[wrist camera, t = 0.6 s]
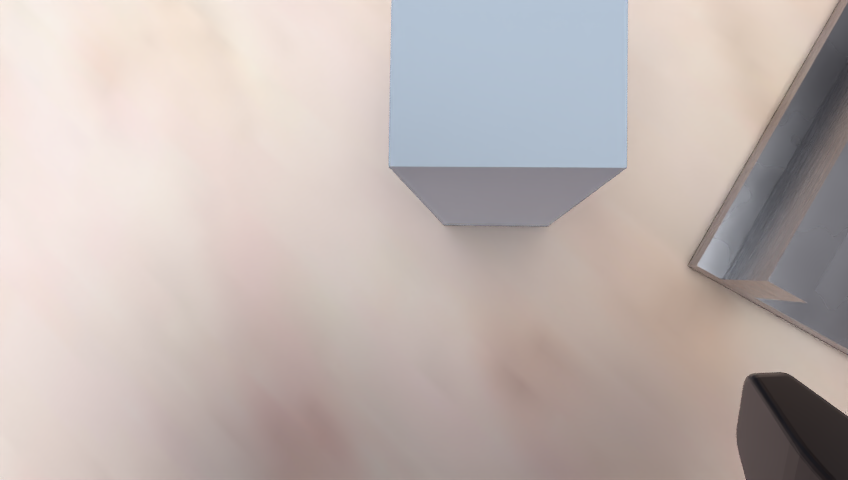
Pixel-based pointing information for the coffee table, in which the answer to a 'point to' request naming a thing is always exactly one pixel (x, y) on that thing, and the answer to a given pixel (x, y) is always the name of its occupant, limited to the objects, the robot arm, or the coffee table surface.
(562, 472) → the coffee table surface
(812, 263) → the rack
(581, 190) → the blue-gray rectangular block
